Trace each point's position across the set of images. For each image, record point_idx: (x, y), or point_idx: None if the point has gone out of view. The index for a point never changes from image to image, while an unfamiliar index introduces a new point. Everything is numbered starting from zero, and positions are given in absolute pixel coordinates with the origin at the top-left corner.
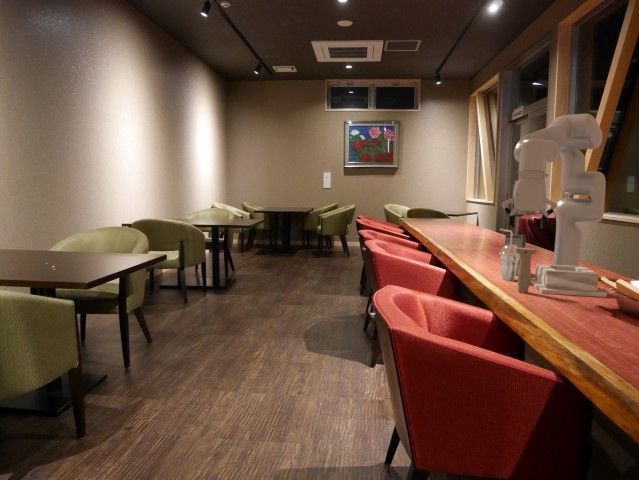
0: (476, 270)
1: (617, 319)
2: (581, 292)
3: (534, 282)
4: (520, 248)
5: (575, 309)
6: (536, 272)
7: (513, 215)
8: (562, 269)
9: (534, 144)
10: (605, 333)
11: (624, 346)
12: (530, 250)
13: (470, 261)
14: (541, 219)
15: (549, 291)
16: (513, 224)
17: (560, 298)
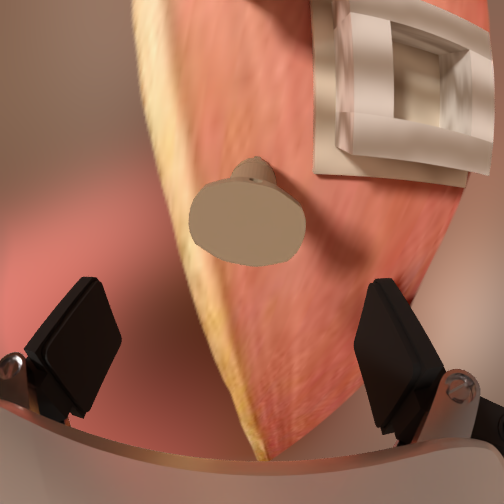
0: None
1: None
2: (418, 181)
3: (319, 49)
4: (213, 227)
5: (331, 323)
6: (339, 2)
7: (68, 407)
8: (430, 36)
9: None
10: (309, 409)
11: (305, 429)
12: (263, 264)
13: None
14: (394, 366)
15: (335, 173)
16: (109, 359)
17: (344, 228)
